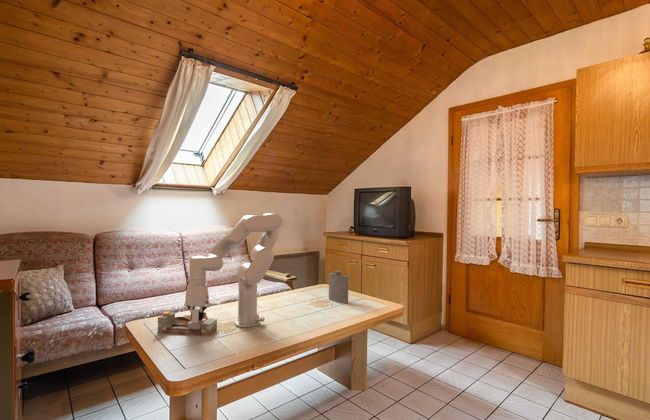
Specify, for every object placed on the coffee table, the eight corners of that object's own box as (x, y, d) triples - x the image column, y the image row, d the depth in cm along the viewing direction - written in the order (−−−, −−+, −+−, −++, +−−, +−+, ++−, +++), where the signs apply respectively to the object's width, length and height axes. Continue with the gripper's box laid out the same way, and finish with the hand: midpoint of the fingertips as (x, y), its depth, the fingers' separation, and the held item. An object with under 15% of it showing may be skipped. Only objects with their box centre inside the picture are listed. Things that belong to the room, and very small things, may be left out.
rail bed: (216, 329, 166) (217, 314, 165) (209, 335, 158) (209, 320, 157) (167, 327, 168) (167, 312, 168) (157, 333, 160) (157, 317, 160)
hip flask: (349, 303, 214) (349, 272, 213) (344, 304, 211) (345, 273, 211) (331, 298, 225) (331, 268, 225) (326, 299, 222) (327, 269, 222)
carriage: (206, 323, 166) (206, 306, 165) (199, 329, 159) (199, 311, 158) (194, 323, 166) (195, 306, 166) (187, 328, 159) (187, 310, 159)
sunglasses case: (174, 329, 166) (173, 315, 168) (171, 332, 170) (170, 319, 173) (211, 321, 176) (209, 309, 179) (207, 325, 181) (205, 313, 184)
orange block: (170, 321, 165) (170, 311, 165) (167, 323, 163) (167, 313, 163) (165, 321, 165) (165, 311, 165) (162, 323, 163) (162, 313, 163)
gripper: (177, 282, 159) (177, 321, 160) (210, 284, 158) (210, 323, 158) (185, 279, 167) (185, 316, 167) (217, 280, 165) (216, 317, 165)
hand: (197, 319), depth 162 cm, fingers closed on carriage, 3 cm apart
